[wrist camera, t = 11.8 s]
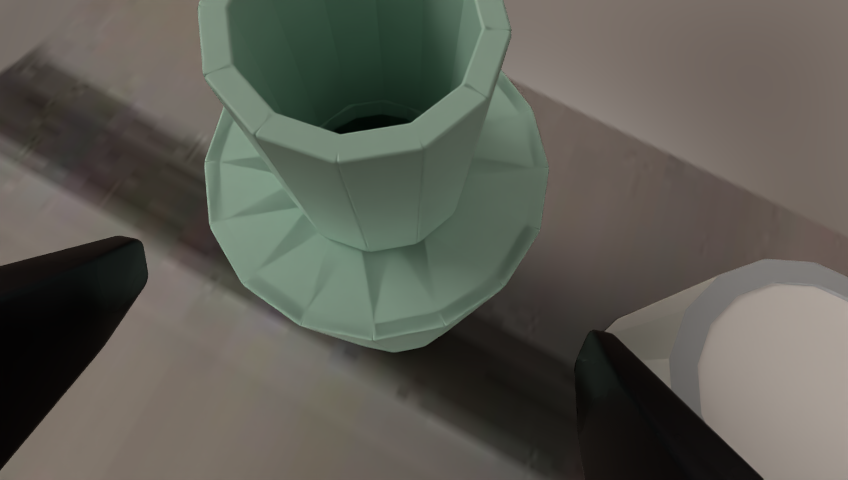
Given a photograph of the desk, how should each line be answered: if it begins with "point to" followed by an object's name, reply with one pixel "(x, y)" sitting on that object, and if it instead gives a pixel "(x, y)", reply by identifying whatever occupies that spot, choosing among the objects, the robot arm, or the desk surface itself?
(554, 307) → the desk surface
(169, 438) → the desk surface
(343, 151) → the water bottle
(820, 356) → the shot glass
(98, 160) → the desk surface
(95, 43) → the desk surface
